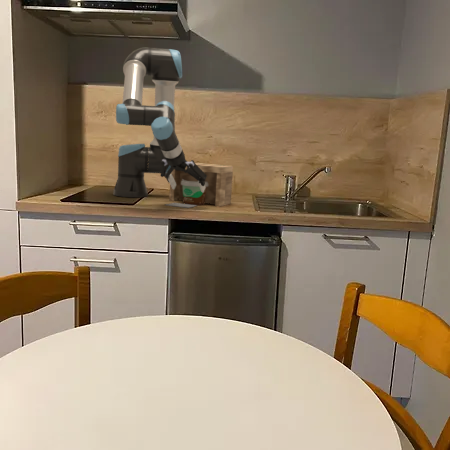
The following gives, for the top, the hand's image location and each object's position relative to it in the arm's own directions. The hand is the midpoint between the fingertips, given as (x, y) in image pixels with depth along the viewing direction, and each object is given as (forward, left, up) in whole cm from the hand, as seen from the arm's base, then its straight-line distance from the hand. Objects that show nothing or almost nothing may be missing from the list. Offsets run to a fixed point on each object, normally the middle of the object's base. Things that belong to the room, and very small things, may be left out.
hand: (189, 188), depth 220 cm
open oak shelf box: (0, +12, -7) cm, 14 cm away
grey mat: (-1, -4, -7) cm, 8 cm away
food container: (0, +4, -7) cm, 8 cm away
